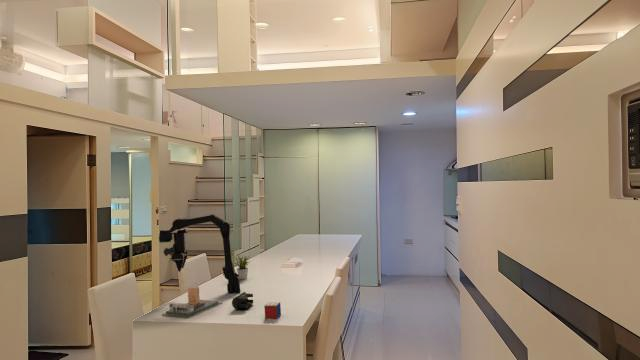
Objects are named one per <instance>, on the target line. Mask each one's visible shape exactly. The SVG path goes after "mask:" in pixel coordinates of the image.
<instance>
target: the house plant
mask: <svg viewBox="0 0 640 360" xmlns="http://www.w3.org/2000/svg"><path fill="white" fill-rule="evenodd" d="M231 255H232V254H231ZM251 255H252V254H250V255H249V256H246V255H245V254H244V253H242V255H241V257H240V254H237V255H236V256H237V257H236V256H235V255H232V257H233V259H235V260H236V262H234V265H235V266H234V267H236V266H237V267H238V268H236V273H237V274H238V275H239V280H246V279H247V278H248V272H249V268H248V265H249V264H250V262H249V261H247V260H248V259H249V258H250V257H251Z"/></svg>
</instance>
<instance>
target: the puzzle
mask: <svg viewBox="0 0 640 360" xmlns="http://www.w3.org/2000/svg"><path fill="white" fill-rule="evenodd" d="M281 308H282V307H281V302H280V301H278V302H274V301H272V302H270V301H269V302H267V303H265V305H264V319H267V320H275V319H277V320H278V319H279V318H280V316H281V315H282V309H281Z"/></svg>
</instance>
